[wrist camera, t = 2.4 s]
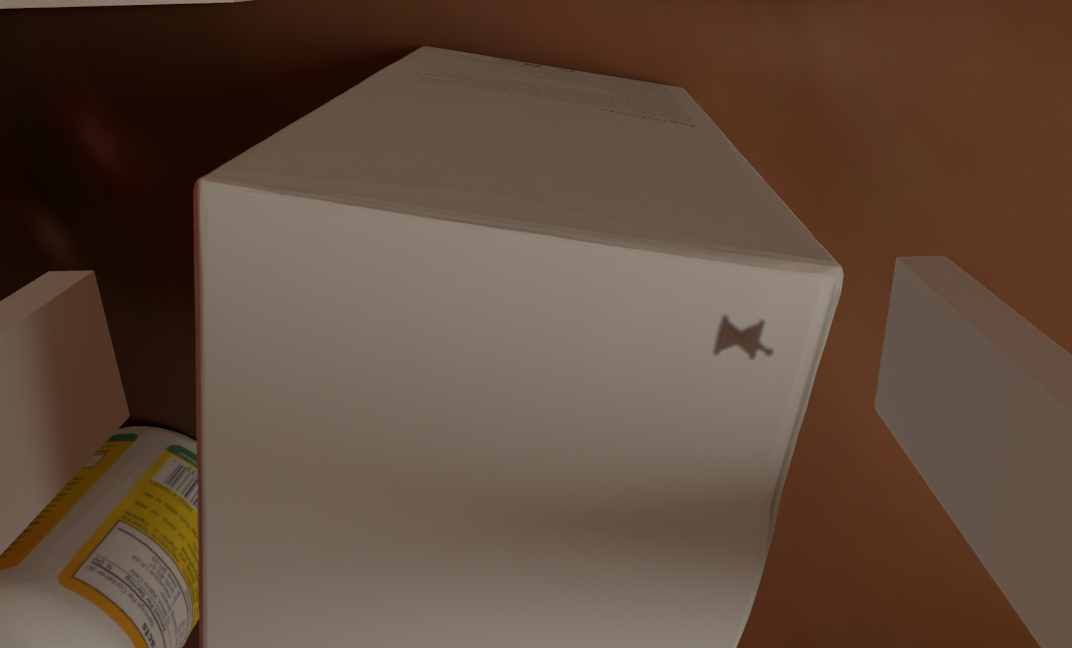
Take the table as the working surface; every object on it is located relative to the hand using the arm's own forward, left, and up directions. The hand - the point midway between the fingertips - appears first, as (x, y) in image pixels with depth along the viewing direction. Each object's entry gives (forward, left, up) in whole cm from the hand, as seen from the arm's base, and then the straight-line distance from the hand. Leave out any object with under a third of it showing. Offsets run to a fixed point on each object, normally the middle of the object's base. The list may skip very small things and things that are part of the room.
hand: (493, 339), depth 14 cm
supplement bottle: (+11, +8, -8) cm, 16 cm away
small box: (0, 0, -8) cm, 8 cm away
